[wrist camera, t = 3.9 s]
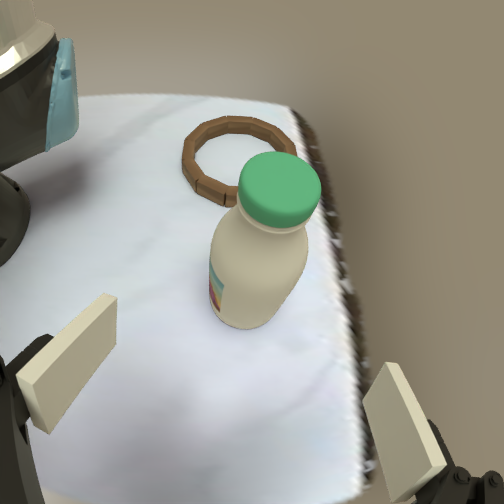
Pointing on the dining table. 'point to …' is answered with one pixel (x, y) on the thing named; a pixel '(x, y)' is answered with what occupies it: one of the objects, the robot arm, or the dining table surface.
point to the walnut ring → (219, 127)
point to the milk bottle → (262, 239)
